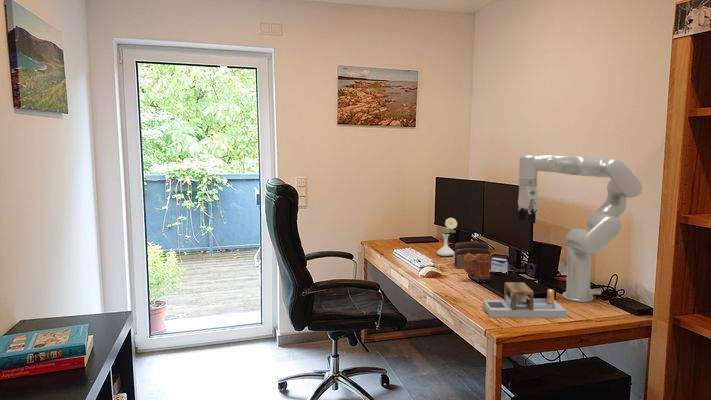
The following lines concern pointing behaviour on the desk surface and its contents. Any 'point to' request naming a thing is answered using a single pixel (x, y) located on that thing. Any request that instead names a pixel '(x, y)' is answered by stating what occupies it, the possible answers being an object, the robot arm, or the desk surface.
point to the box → (499, 265)
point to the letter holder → (471, 248)
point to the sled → (549, 301)
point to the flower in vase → (445, 249)
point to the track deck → (522, 310)
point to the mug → (477, 265)
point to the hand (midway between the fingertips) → (526, 221)
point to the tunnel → (518, 292)
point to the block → (520, 299)
